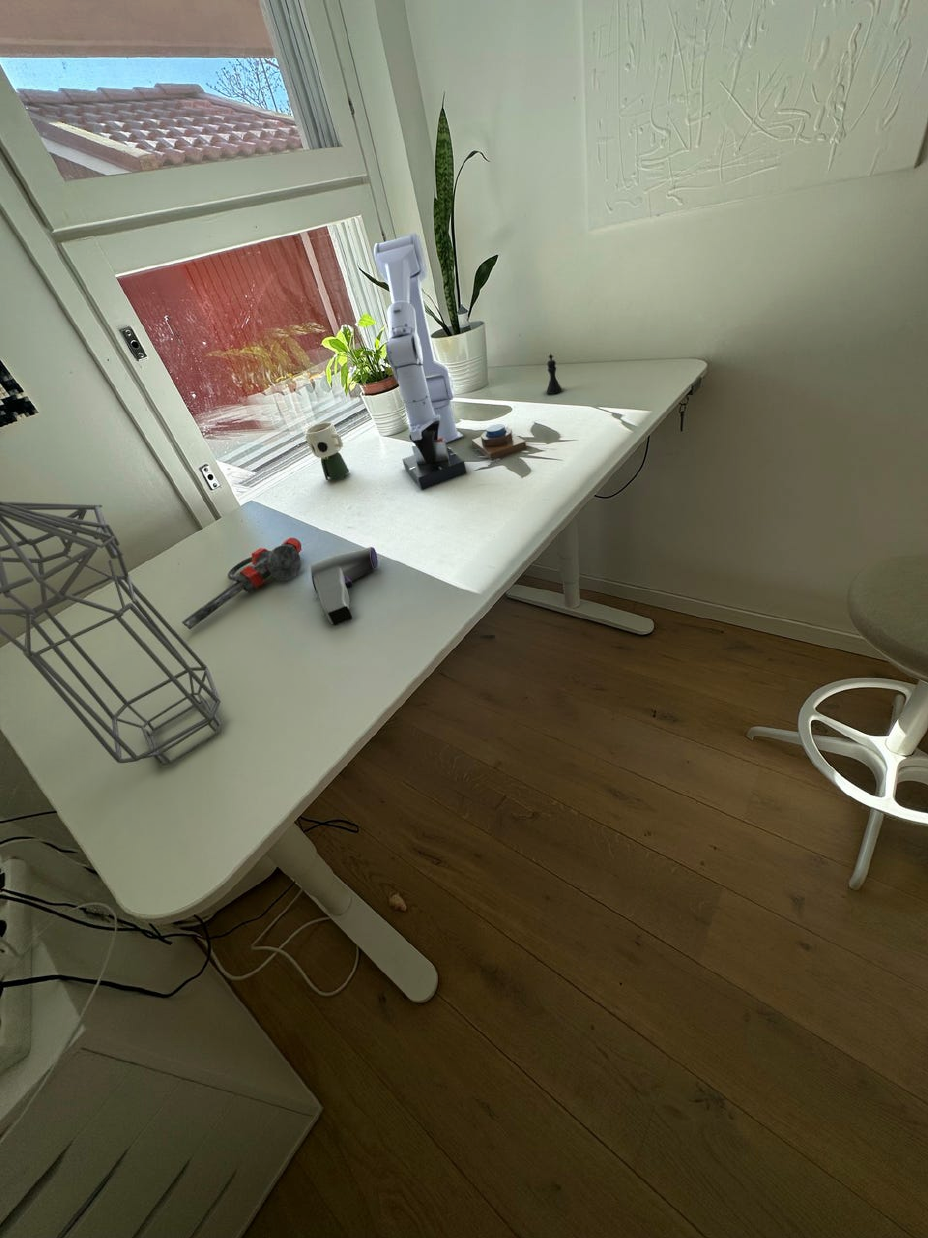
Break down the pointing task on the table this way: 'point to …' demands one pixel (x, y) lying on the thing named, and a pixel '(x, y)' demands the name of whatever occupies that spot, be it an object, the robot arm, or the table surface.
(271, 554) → the chainsaw
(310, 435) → the character mug
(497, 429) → the button
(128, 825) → the table surface
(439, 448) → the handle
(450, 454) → the tap deck
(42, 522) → the geometric lantern
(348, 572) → the infrared thermometer
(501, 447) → the button block
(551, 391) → the chess piece
